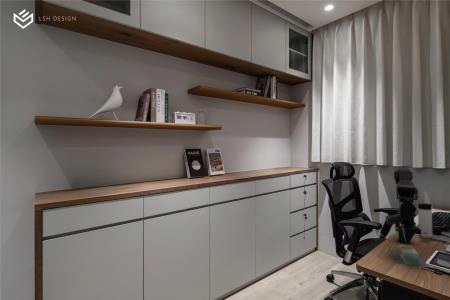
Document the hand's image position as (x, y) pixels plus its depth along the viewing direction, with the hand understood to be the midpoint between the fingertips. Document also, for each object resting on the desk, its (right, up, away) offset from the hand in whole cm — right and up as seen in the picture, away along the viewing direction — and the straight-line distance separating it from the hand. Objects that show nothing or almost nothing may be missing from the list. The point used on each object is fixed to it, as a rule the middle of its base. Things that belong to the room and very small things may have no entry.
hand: (407, 243), depth 114 cm
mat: (+1, -8, +1) cm, 8 cm away
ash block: (+1, -5, +3) cm, 6 cm away
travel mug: (+33, -8, +29) cm, 45 cm away
